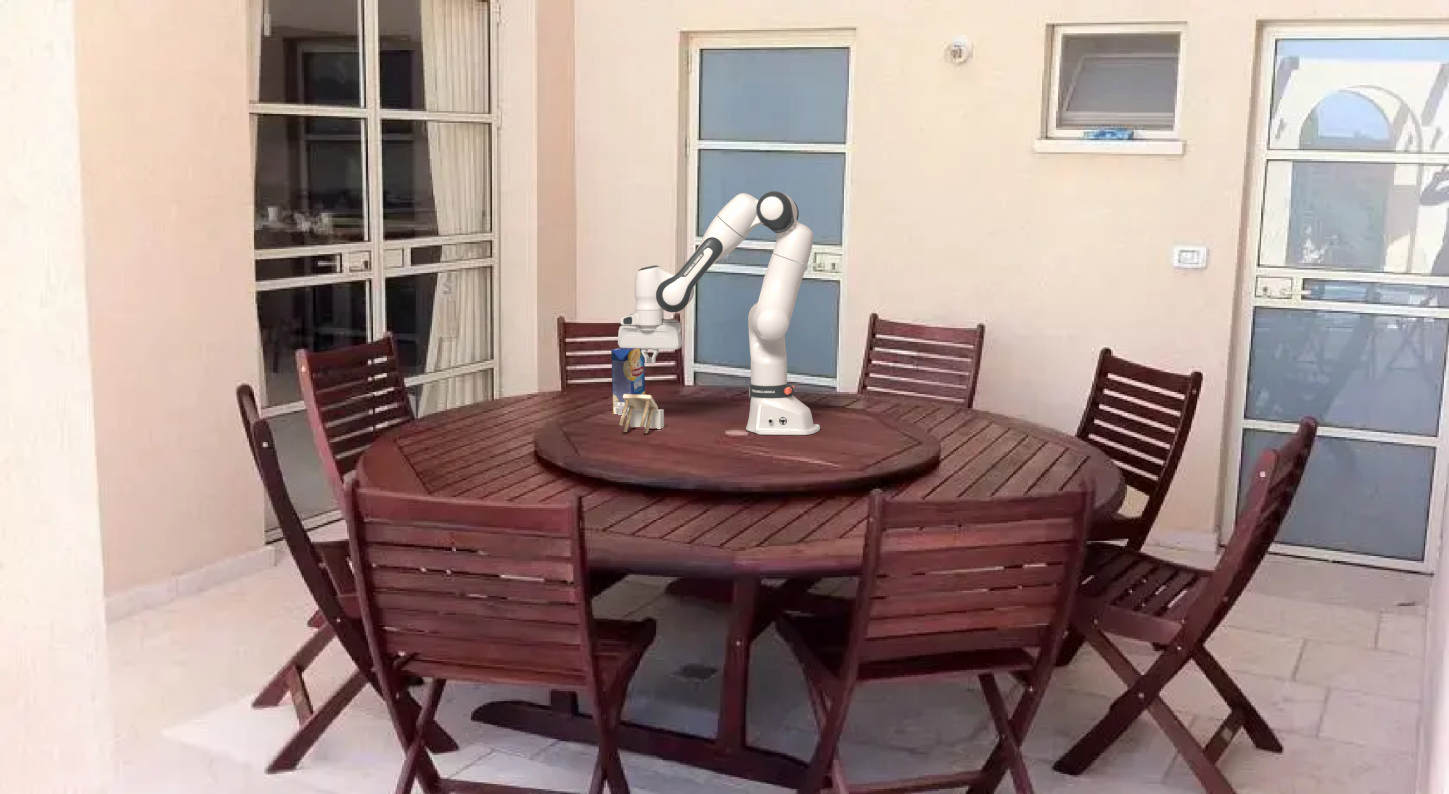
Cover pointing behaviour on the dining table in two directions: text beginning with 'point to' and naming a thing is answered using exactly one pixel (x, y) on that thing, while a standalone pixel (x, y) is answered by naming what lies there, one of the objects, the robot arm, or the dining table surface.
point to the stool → (640, 404)
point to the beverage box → (626, 375)
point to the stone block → (656, 419)
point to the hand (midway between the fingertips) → (650, 363)
